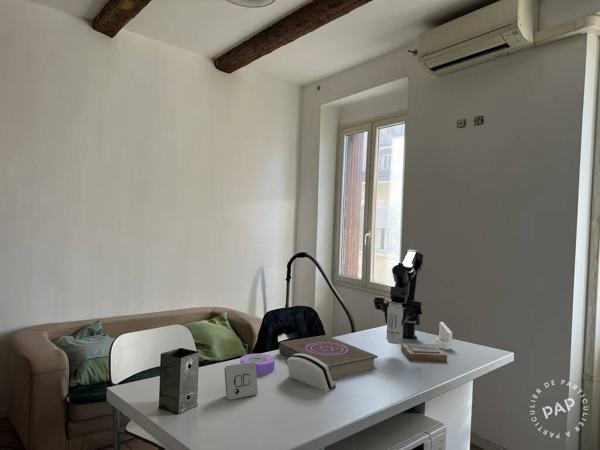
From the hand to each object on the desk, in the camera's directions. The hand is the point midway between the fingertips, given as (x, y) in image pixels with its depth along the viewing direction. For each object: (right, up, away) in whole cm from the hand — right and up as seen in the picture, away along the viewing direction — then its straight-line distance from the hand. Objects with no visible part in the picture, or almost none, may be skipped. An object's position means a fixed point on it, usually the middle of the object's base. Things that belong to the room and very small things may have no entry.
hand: (394, 323), depth 166 cm
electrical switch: (-54, -12, -41) cm, 69 cm away
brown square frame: (+12, -13, +3) cm, 18 cm away
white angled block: (+24, -14, +15) cm, 31 cm away
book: (-27, -13, -8) cm, 31 cm away
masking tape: (-51, -12, -19) cm, 56 cm away
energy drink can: (0, -8, +1) cm, 8 cm away
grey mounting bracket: (-33, -12, -30) cm, 47 cm away
